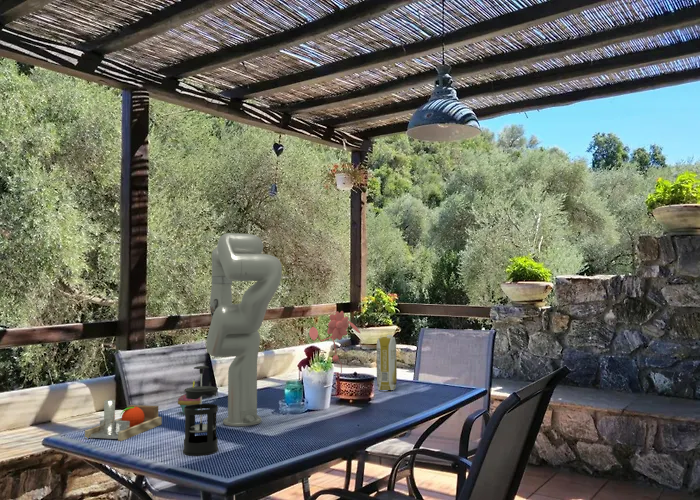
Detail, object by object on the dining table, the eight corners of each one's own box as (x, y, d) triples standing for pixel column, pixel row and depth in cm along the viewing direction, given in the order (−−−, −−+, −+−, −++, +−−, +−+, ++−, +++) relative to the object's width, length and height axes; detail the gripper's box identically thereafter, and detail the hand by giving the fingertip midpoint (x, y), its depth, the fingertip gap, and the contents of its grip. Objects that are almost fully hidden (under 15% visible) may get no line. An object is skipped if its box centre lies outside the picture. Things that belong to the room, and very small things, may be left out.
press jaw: (102, 432, 183) (103, 398, 184) (129, 434, 181) (130, 399, 182) (90, 437, 178) (91, 401, 178) (118, 438, 175) (118, 402, 176)
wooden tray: (127, 423, 199) (128, 404, 199) (161, 424, 196) (161, 406, 196) (84, 439, 177) (85, 418, 178) (121, 441, 175) (122, 420, 175)
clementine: (125, 433, 185) (125, 409, 185) (114, 429, 189) (114, 407, 190) (148, 428, 191) (148, 405, 191) (137, 425, 195) (137, 403, 196)
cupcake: (190, 410, 220) (190, 377, 221) (207, 412, 216) (207, 378, 216) (172, 414, 212) (172, 380, 213) (189, 416, 208) (190, 382, 209)
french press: (226, 451, 162) (227, 366, 164) (196, 458, 156) (197, 369, 157) (202, 444, 170) (203, 362, 172) (172, 450, 163) (173, 366, 165)
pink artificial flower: (303, 395, 248) (305, 311, 250) (349, 388, 266) (350, 309, 268) (327, 401, 237) (328, 312, 239) (373, 393, 255) (374, 311, 256)
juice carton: (394, 392, 255) (393, 335, 257) (376, 391, 257) (375, 335, 258) (397, 388, 264) (396, 334, 266) (380, 388, 266) (379, 334, 268)
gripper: (222, 281, 234) (222, 325, 232) (202, 281, 217) (201, 328, 216) (240, 281, 232) (240, 325, 231) (221, 281, 215) (221, 328, 214)
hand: (221, 327), depth 223 cm, fingers open, 9 cm apart
